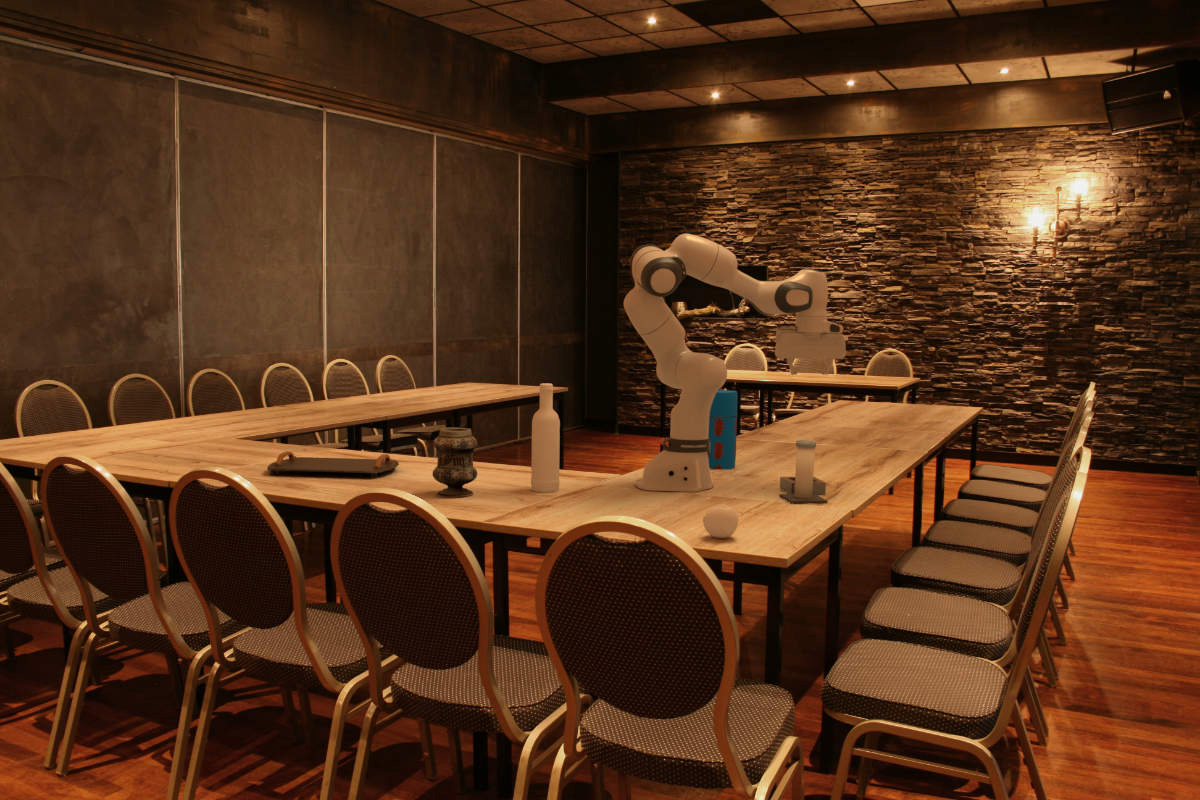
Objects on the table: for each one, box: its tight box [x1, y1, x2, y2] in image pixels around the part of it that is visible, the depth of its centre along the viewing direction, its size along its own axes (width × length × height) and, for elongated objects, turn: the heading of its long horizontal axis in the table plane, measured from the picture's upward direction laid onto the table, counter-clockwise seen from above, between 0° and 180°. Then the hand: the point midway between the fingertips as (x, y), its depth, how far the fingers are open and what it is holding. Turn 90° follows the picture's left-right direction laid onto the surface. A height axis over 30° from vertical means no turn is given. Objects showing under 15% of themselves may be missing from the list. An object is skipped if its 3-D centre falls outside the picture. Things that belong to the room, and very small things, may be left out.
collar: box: [779, 476, 827, 496], centre depth 277 cm, size 10×10×4 cm
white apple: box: [702, 504, 739, 539], centre depth 219 cm, size 8×8×8 cm
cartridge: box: [794, 439, 817, 499], centre depth 264 cm, size 5×5×15 cm
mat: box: [779, 493, 828, 505], centre depth 265 cm, size 10×10×1 cm
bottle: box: [530, 382, 561, 494], centre depth 272 cm, size 8×8×30 cm
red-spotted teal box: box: [708, 389, 738, 470], centre depth 318 cm, size 11×11×25 cm
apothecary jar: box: [432, 427, 478, 498], centre depth 264 cm, size 12×12×18 cm
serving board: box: [267, 450, 400, 480], centre depth 298 cm, size 39×23×6 cm, turn 85°
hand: (809, 374), depth 281 cm, fingers open, 8 cm apart
